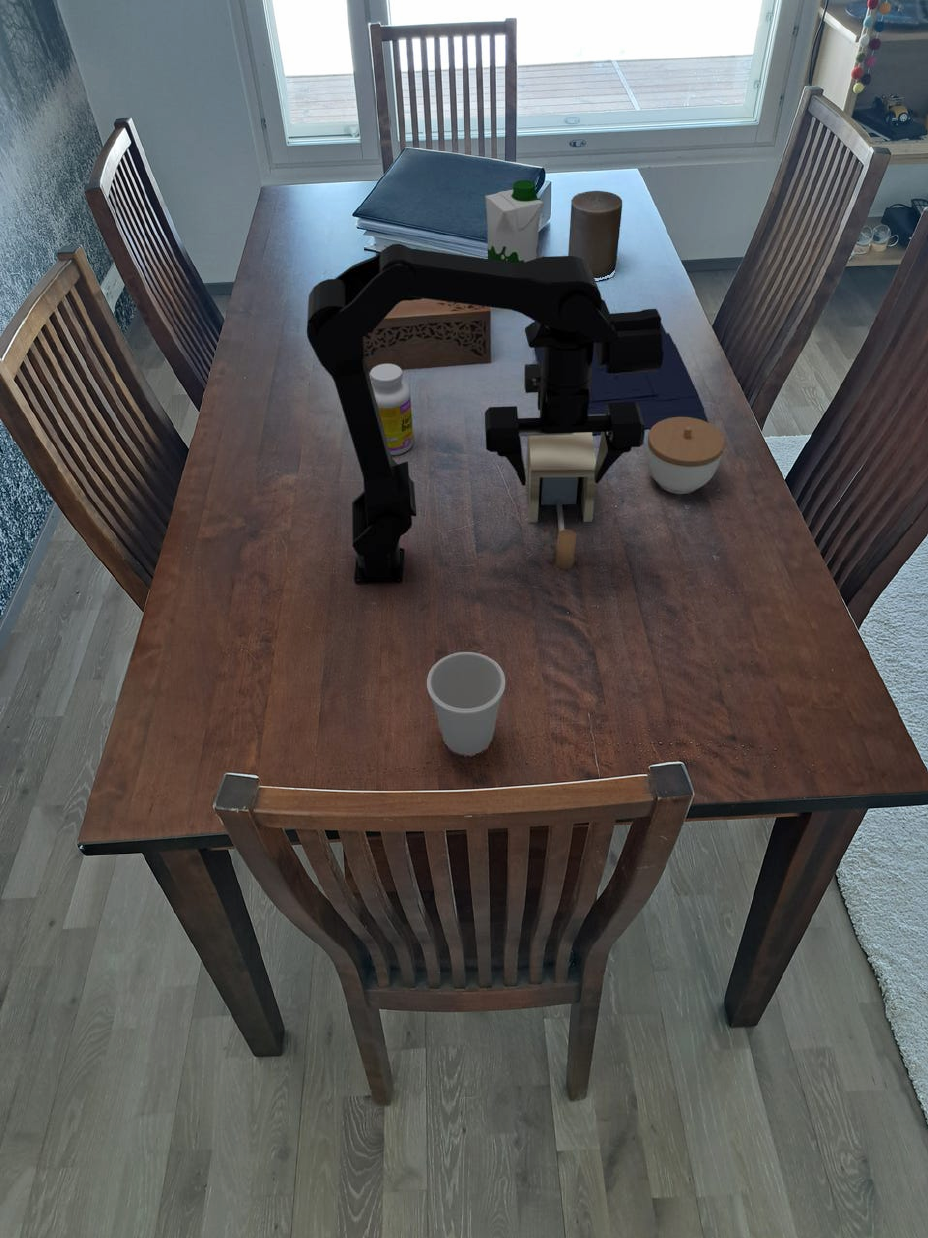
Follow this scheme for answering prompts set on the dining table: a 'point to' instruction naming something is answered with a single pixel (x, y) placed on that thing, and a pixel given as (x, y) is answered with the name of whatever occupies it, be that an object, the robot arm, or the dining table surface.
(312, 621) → the dining table surface
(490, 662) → the dixie cup
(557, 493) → the tethered block
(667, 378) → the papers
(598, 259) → the pillar candle
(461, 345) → the tissue box cover
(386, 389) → the supplement bottle
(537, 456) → the cubby lane
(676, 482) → the lidded jar
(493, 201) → the milk carton
